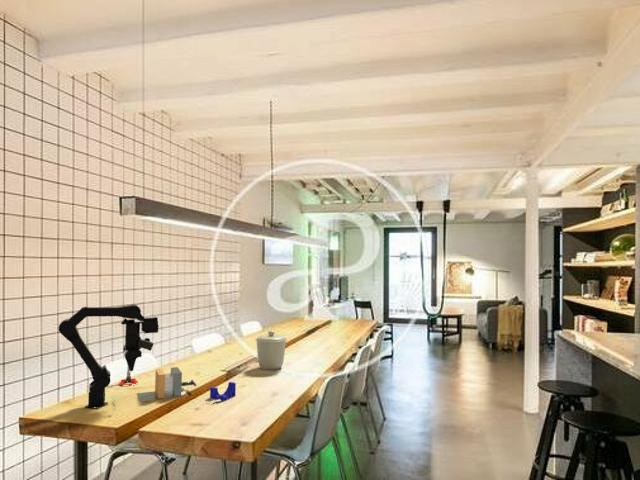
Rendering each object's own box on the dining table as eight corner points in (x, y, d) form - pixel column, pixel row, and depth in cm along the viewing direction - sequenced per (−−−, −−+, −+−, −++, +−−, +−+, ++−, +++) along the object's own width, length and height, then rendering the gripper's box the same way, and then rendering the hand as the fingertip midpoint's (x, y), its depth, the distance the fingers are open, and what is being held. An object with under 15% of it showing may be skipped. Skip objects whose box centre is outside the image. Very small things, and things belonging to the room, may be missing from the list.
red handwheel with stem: (137, 386, 215) (137, 380, 224) (138, 359, 216) (138, 355, 224) (118, 388, 212) (119, 382, 221) (119, 361, 212) (119, 356, 221)
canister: (249, 370, 248) (250, 332, 249) (263, 363, 265) (263, 327, 266) (279, 372, 243) (279, 333, 244) (291, 365, 260) (291, 329, 261)
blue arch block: (216, 403, 189) (217, 389, 189) (209, 401, 191) (210, 387, 192) (237, 396, 198) (237, 383, 199) (230, 395, 201) (231, 381, 201)
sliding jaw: (158, 398, 189) (158, 375, 189) (155, 391, 200) (155, 369, 200) (164, 397, 190) (165, 374, 191) (160, 390, 201) (161, 368, 201)
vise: (139, 405, 185) (140, 377, 186) (136, 396, 197) (137, 370, 197) (197, 397, 196) (197, 371, 196) (191, 390, 207) (192, 365, 208)
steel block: (163, 396, 192) (164, 377, 193) (161, 392, 198) (162, 374, 199) (173, 395, 194) (173, 376, 194) (170, 391, 200) (171, 373, 201)
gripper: (154, 336, 186) (153, 373, 185) (150, 330, 203) (149, 364, 202) (126, 337, 181) (124, 376, 180) (123, 331, 198) (122, 367, 197)
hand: (131, 370), depth 190 cm, fingers closed
